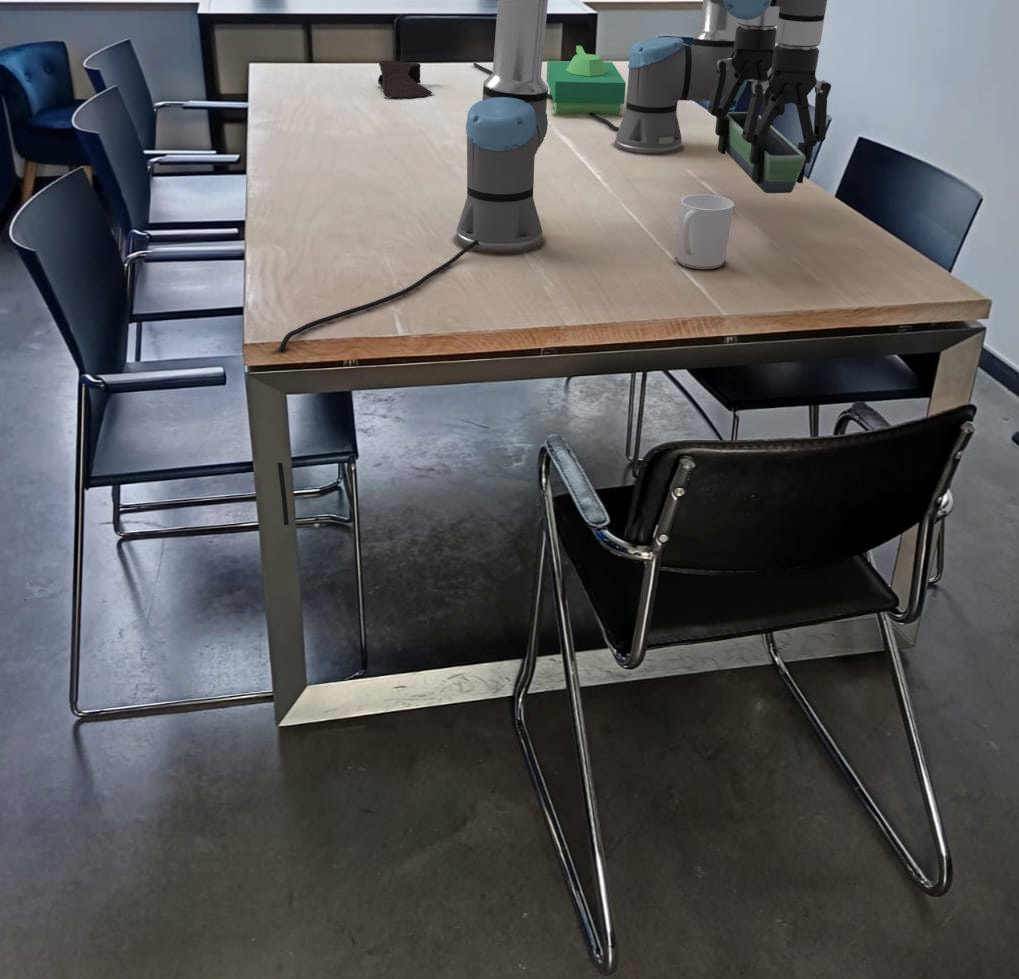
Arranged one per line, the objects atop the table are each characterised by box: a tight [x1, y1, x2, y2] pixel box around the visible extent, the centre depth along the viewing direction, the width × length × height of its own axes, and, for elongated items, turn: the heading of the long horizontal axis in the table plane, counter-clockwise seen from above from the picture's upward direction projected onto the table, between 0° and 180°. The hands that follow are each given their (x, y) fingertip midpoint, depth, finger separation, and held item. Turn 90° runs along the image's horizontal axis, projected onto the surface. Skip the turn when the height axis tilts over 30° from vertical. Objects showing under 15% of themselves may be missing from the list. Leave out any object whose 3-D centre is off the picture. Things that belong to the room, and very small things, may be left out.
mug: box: [676, 193, 735, 270], centre depth 185 cm, size 11×9×10 cm
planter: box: [726, 111, 806, 194], centre depth 204 cm, size 28×7×7 cm, turn 8°
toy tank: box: [546, 45, 627, 116], centre depth 289 cm, size 18×12×35 cm
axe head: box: [377, 59, 433, 99], centre depth 299 cm, size 18×8×15 cm
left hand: (776, 181), depth 197 cm, fingers closed on planter, 7 cm apart
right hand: (740, 151), depth 214 cm, fingers closed on planter, 7 cm apart
